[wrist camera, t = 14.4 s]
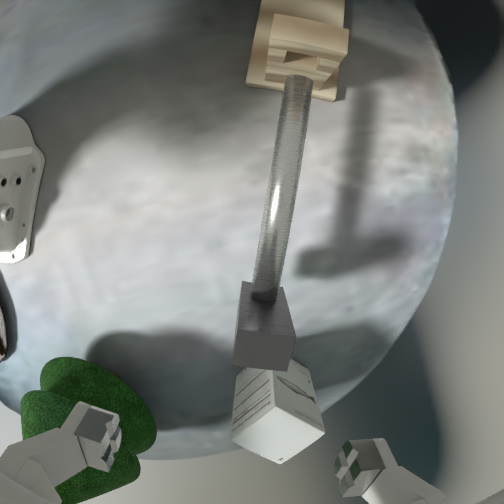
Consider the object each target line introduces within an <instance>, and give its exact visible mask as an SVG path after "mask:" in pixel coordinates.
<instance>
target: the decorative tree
mask: <svg viewBox="0 0 504 504" xmlns="http://www.w3.org/2000/svg"><path fill="white" fill-rule="evenodd" d="M40 386H41V390H35V391H30V392H28V393H26V394H25V395H24V396H23V398H22V400H21V424H22V436H23V440H26V439H28V438H31V437H34V436H36V435H39V434H42V433H44V432H47V431H49V430H52V429H54V428H59V429H60V428H61V427H62V425H63V424H64V422H65V421H66V419H67V418H68V416H69V414H70V413H71V411H72V410H73V408H74V407H75V405H76V404H77V403H78V402H80V401H81V402H84V403H86V404H89V405H92V406H95V407H98V408H101V409H104V410H107V411H110V412H113V413H116V414H118V415H119V420H120V421H119V423H118V426H119V427H120V428H121V433H122V434H121V443H120V447H119V449H118V451H117V452H115V453H113V457H114V461H113V464H112V466H111V469H110V471H109V472H105V471H102V470H99V469H96V468H93V467H90V466H87V467H86V468H85V469H83V470H82V471H80V472H78V473H77V474H75V475H74V476H72V477H70V478H69V479H67V480H66V481H64V482H62V483H61V484H59V485H57V486H56V487H54V488H55V490H56V491H57V493H58V494H59V496H60V498H61V500H62V502H61V504H77V503H80V502H83V501H86V500H88V499H91V498H94V497H97V496H99V495H102V494H104V493H107V492H110V491H112V490H115V489H117V488H119V487H122V486H124V485H127V484H129V483H131V482H133V481H135V480H136V479H137V478H138V477H139V475H140V463H139V460H138V458H137V456H136V454H139V453H142V452H145V451H146V450H148V449H149V448H150V447H151V446H152V445H153V444H154V442H155V440H156V435H157V429H156V424H155V421H154V418H153V416H152V414H151V412H150V410H149V409H148V407H147V406H146V404H145V403H144V402H143V400H142V399H141V398H140V397H139V396H138V395H137V394H136V393H135V392H134V391H133V390H132V389H131V388H130V387H129V386H128V385H127V384H126V383H124V382H123V380H122V379H121V378H119V377H118V376H117V375H115V374H114V373H112V372H110V371H107V370H105V369H104V368H102V367H100V366H98V365H96V364H93V363H91V362H88V361H85V360H82V359H79V358H73V357H59V358H55V359H52V360H50V361H49V362H48V363H46V365H45V366H44V367H43V369H42V372H41V376H40Z"/></svg>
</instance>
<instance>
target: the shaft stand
mask: <svg viewBox="0 0 504 504" xmlns="http://www.w3.org/2000/svg"><path fill="white" fill-rule="evenodd" d="M344 7H345V0H262V2H261V7H260V12H259V16H258V21H257V26H256V31H255V36H254V41H253V46H252V51H251V56H250V61H249V66H248V72H247V77H246V86H250V87H257V88H263V89H270V90H276V91H282V92H283V90H284V84H285V78H286V76H288V75H302V76H306V77H308V78H310V79H312V80H313V81H314V83H313V90H312V98H317V99H321V100H325V101H330V102H333V101H334V100H335V99H336V91H337V83H338V74H339V65H340V63H341V61H342V60H343V59H344V57H345V56H346V55H347V51H348V39H349V29H345V28H343V21H344Z"/></svg>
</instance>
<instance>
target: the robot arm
mask: <svg viewBox="0 0 504 504" xmlns="http://www.w3.org/2000/svg"><path fill="white" fill-rule="evenodd" d="M44 164H45V158H44V155H43V153H42V152H41V151H40V150H39V149H38V147H37V146H36V145H35V143H34V141H33V137H32V134H31V131H30V129H29V127H28V125H27V123H26V122H25V121H24V120H23V119H22V118H21V117H19V116H16V115H8V116H4V117H0V262H2V263H16V262H20V261H22V260H24V259H25V258H27V257H28V255H29V248H30V239H31V232H32V224H33V218H34V212H35V206H36V200H37V195H38V190H39V185H40V181H41V176H42V172H43V168H44ZM35 169H36V170H35ZM34 170H35V171H34ZM119 421H120V420H119V415H118V414H116V413H113V412H110V411H107V410H104V409H101V408H98V407H95V406H92V405H89V404H86V403H84V402H81V401H80V402H78V403H77V404H76V405H75V407H74V408H73V410H72V411H71V413H70V414H69V416H68V418H67V419H66V421H65V422H64V424H63V425H62V427H61V428H60V429H59V428H54V429H52V430H49V431H47V432H44V433H42V434H39V435H36V436H34V437H31V438H28V439H26V440H23V441H21V442H18V443H15V444H12V445H9V446H8V447H7V449H6V450H5V452H4V453H3V454H2V456H1V457H0V504H61V502H62V500H61V498H60V496H59V494H58V493H57V491H56V490H55V488H54V487H56V486H57V485H59V484H61V483H62V482H64V481H66V480H67V479H69V478H70V477H72V476H74V475H75V474H77V473H78V472H80V471H82V470H83V469H85V468H86V467H87V466H90V467H93V468H96V469H99V470H102V471H105V472H109V471H110V469H111V466H112V464H113V461H114V457H113V453H115V452H117V451H118V449H119V447H120V443H121V434H122V433H121V428H120V427H119V426H118V423H119ZM342 448H343V452H341V453H339V454H338V456H337V458H336V460H335V465H334V468H335V474H336V476H337V477H338V478H339V479H341V481H340V482H339V484H338V485H339V488H340V492H341V496H342V497H351V496H360V495H362V497H363V498H364V499H365V500H366V501H367V502H369V504H448V502H447V500H446V498H445V497H444V494H443V493H442V492H441V491H440V490H438V489H436V488H435V487H433V486H431V485H430V484H428V483H426V482H425V481H423V480H422V479H420V478H419V477H417V476H415V475H414V474H412V473H411V472H409V471H408V470H406V469H405V468H403V467H401V466H400V467H398V465H397V463H396V461H395V459H394V457H393V455H392V453H391V451H390V449H389V447H388V445H387V443H386V441H385V439H383V438H380V439H379V438H378V439H365V440H352V441H347V442H345V443H344V445H343V447H342ZM476 504H504V489H502V490H501V491H499V492H497V493H495V494H493V495H491V496H490V497H488V498H486V499H484V500H482V501H480V502H478V503H476Z"/></svg>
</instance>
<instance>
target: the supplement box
mask: <svg viewBox="0 0 504 504" xmlns="http://www.w3.org/2000/svg"><path fill="white" fill-rule="evenodd" d="M323 434H325V430H324V426H323V422H322V419H321V414H320V410H319V406H318V403H317V399H316V395H315V391H314V387H313V383H312V379H311V376H310V372H309V370H308V369H307V368H305V367H303V366H302V365H300V364H298V363H297V362H295V361H294V360H292V359H290V363H289V366H288V370H287V372H284V371H274V370H265V369H256V368H248V367H245V368H244V369H243V370H242V371H241V372H240V373H239V374H238V375H237V376H236V384H235V393H234V403H233V414H232V424H231V434H230V441H231V442H233V443H235V444H237V445H239V446H241V447H243V448H245V449H247V450H249V451H251V452H254V453H256V454H258V455H260V456H262V457H265V458H267V459H269V460H271V461H274V462H276V463H278V464H281V463H283V462H285V461H286V460H288V459H290V458H291V457H293V456H294V455H296V454H297V453H298V452H300V451H302V450H303V449H304V448H306V447H307V446H309V445H310V444H312V443H313V442H314V441H316V440H317V439H319V438H320V437H321V436H322V435H323Z"/></svg>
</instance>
